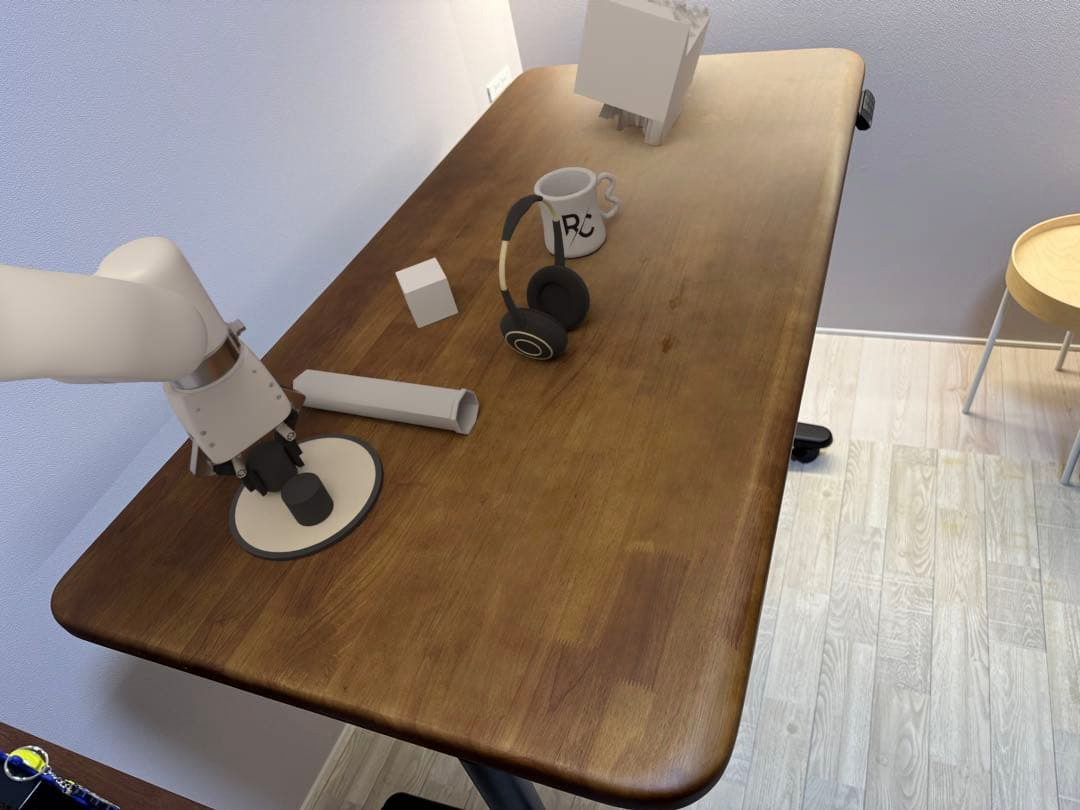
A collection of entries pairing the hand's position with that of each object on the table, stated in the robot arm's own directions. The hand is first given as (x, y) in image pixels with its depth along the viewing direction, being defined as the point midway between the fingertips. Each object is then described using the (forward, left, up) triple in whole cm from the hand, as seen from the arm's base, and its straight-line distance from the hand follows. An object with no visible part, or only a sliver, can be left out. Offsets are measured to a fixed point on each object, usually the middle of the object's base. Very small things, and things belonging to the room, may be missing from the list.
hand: (277, 474), depth 89 cm
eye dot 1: (0, 0, -1) cm, 1 cm away
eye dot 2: (0, -7, -1) cm, 7 cm away
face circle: (+1, -4, -2) cm, 4 cm away
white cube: (+32, +10, -2) cm, 34 cm away
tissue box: (+88, +15, -2) cm, 89 cm away
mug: (+56, +2, -2) cm, 56 cm away
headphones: (+36, -10, -2) cm, 37 cm away
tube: (+15, -1, -2) cm, 15 cm away
